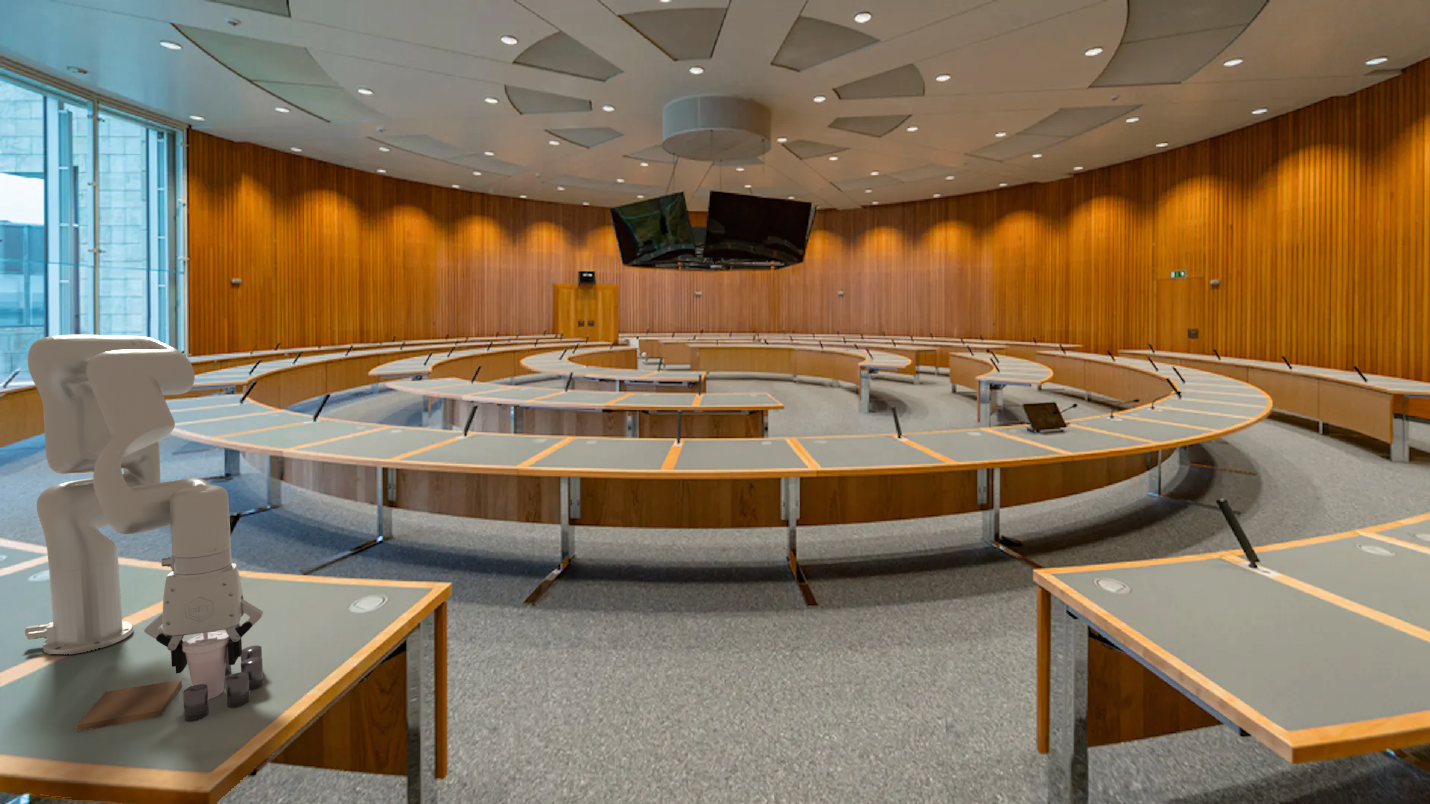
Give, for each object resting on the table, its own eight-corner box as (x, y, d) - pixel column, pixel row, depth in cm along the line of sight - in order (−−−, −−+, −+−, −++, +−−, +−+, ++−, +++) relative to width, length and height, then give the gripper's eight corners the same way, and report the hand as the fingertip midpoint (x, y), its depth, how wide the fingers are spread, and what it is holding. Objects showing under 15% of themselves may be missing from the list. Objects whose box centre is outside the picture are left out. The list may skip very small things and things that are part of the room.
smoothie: (179, 708, 103) (175, 625, 102) (190, 688, 109) (186, 609, 108) (229, 699, 106) (225, 618, 105) (236, 680, 112) (233, 603, 111)
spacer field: (181, 723, 99) (180, 696, 99) (212, 671, 115) (211, 647, 114) (251, 711, 103) (250, 684, 103) (272, 662, 119) (271, 638, 118)
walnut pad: (77, 731, 97) (76, 725, 97) (105, 697, 106) (105, 691, 106) (161, 716, 101) (160, 710, 101) (181, 685, 110) (181, 679, 110)
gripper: (125, 576, 99) (132, 687, 100) (261, 562, 106) (265, 666, 108) (144, 560, 105) (150, 664, 107) (270, 548, 113) (274, 646, 114)
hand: (208, 664), depth 107 cm, fingers closed on smoothie, 6 cm apart
